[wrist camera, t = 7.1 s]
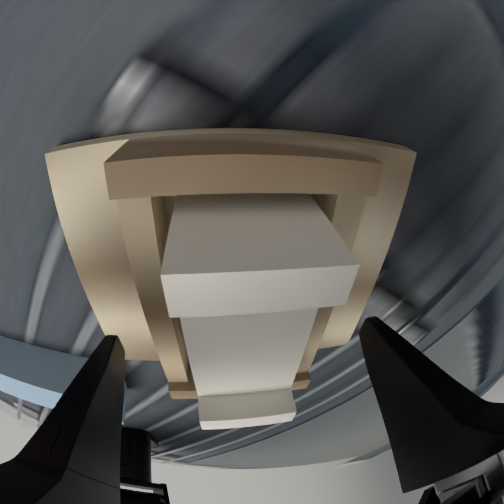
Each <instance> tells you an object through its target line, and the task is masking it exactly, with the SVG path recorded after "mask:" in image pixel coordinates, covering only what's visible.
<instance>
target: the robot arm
mask: <svg viewBox="0 0 504 504" xmlns="http://www.w3.org/2000/svg"><path fill="white" fill-rule="evenodd" d="M359 337H360V341H361V345H362V349H363V354H364V358H365V362H366V366H367V370H368V373H369V376H370V379H371V382H372V385H373V388H374V391H375V395H376V398H377V401H378V404H379V407H380V410H381V414H382V417H383V420H384V423H385V427H386V430H387V434H388V437H389V441H390V444H391V448H392V451H393V455H394V460H395V464H396V467H397V471H398V475H399V480H400V484H401V488H402V492H403V493H406V492H410V491H412V490H416V489H419V488H422V487H425V486H428V485H430V484H433V486H431V487H429V488H428V489H426V490H425V491H424V493H423V495H422V498H421V499H420V502H419V504H504V403H493V402H488V401H485V400H483V399H482V398H480V397H479V396H477V395H476V394H474V393H473V392H472V391H470V390H469V389H467V388H466V387H464V386H463V385H461V384H460V383H459V382H457V381H456V380H455V379H453V378H452V377H451V376H450V375H448V374H447V373H446V372H445V371H443V370H442V369H440V367H439V366H437V365H436V364H435V363H434V362H432V361H431V360H430V359H429V358H428V357H426V356H425V355H424V354H423V353H422V352H420V351H419V350H418V349H417V348H415V347H414V346H413V345H412V344H410V343H409V342H408V341H407V340H405V339H404V338H403V337H402V336H401V335H399V334H398V333H397V332H396V331H394V330H393V329H392V328H391V327H389V326H388V325H387V324H386V323H384V322H383V321H382V320H380V319H379V318H378V317H376V316H373V317H368V318H366V319H365V321H364V323H363V325H362V327H361V329H360V332H359ZM124 393H125V350H124V347H123V345H122V343H121V341H120V339H119V337H118V336H117V335H106V336H105V337H104V339H103V340H102V341H101V342H100V344H99V345H98V346H97V348H96V349H95V350H94V352H93V353H92V354H91V356H90V357H89V358H88V360H87V361H86V362H85V364H84V365H83V367H82V368H81V369H80V371H79V372H78V373H77V375H76V376H75V378H74V379H73V380H72V382H71V383H70V385H69V386H68V387H67V389H66V390H65V392H64V393H63V395H62V396H61V398H60V399H59V400H58V402H57V403H56V405H55V407H54V408H53V409H52V411H51V412H50V414H49V415H48V417H47V418H46V419H45V421H44V422H43V424H42V425H41V426H40V428H39V429H38V430H37V431H36V433H35V434H34V435H33V437H32V438H31V439H30V440H29V441H28V443H27V444H26V445H25V447H24V448H23V449H22V450H21V451H20V453H19V454H18V455H17V456H16V457H15V458H13V459H11V460H10V461H7V462H5V463H2V464H0V504H170V502H169V497H168V491H167V486H166V484H155V483H151V448H158V447H159V444H158V443H157V442H156V441H155V440H154V439H153V438H152V437H151V436H150V435H149V434H148V433H147V432H145V431H136V430H125V429H122V415H123V404H124ZM120 485H122V486H128V487H134V488H141V489H148V490H153V493H146V492H140V491H133V490H127V489H121V488H120Z"/></svg>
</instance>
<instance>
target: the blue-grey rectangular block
mask: <svg viewBox="0 0 504 504" xmlns="http://www.w3.org/2000/svg"><path fill="white" fill-rule="evenodd" d="M87 360H88V358H87V357H82V356H77V355H72V354H67V353H63V352H58V351H54V350H50V349H46V348H42V347H38V346H34V345H31V344H27V343H24V342H20V341H17V340H14V339H10V338H7V337H4V336H1V335H0V391H3V392H5V393H7V394H10V395H13V396H15V397H18V398H21V399H23V400H26V401H29V402H32V403H35V404H38V405H41V406H44V407H48V408H51V409H53V408H54V407H55V405H56V403H57V402H58V400H59V399H60V398H61V396H62V395H63V393H64V392H65V390H66V389H67V387H68V386H69V385H70V383H71V382H72V380H73V379H74V378H75V376H76V375H77V373H78V372H79V371H80V369H81V368H82V367H83V365H84V364H85V362H86V361H87ZM126 395H127V386H126V383H125V393H124V404H123V415H122V424H124V417H125V405H126Z"/></svg>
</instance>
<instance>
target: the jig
mask: <svg viewBox="0 0 504 504" xmlns="http://www.w3.org/2000/svg"><path fill="white" fill-rule="evenodd" d="M416 154H417V153H416V152H415V151H413V150H411V149H409V148H407V147H405V146H403V145H399V144H394V143H388V142H383V141H377V140H371V139H365V138H359V137H352V136H344V135H337V134H328V133H319V132H308V131H296V130H281V129H260V128H200V129H178V130H163V131H151V132H141V133H132V134H124V135H116V136H109V137H102V138H96V139H90V140H84V141H79V142H74V143H69V144H64V145H59V146H56V147H55V148H53V149H51V150H50V151H48V152H47V153H45V157H46V163H47V168H48V173H49V178H50V183H51V187H52V192H53V196H54V200H55V204H56V208H57V211H58V215H59V218H60V222H61V225H62V229H63V232H64V235H65V238H66V241H67V245H68V248H69V250H70V253H71V256H72V259H73V262H74V265H75V267H76V270H77V273H78V275H79V278H80V280H81V283H82V285H83V288H84V290H85V293H86V295H87V297H88V300H89V302H90V304H91V306H92V309H93V311H94V313H95V315H96V317H97V319H98V322H99V324H100V326H101V328H102V330H103V332H104V334H105V336H106V335H117V336H118V337H119V339H120V341H121V343H122V345H123V347H124V350H125V360H146V361H161V364H162V367H163V369H164V372H165V374H166V377H167V379H168V382H169V393H170V395H171V398H172V399H198V395H197V391H196V387H195V383H194V379H193V375H192V371H191V367H190V363H189V358H188V354H187V350H186V345H185V340H184V336H183V331H182V326H181V321H180V317H175V318H169V313H168V309H167V305H166V300H165V295H164V291H163V286H162V281H161V276H160V274H161V268H162V262H163V257H164V252H165V246H166V241H167V236H168V232H169V227H170V222H171V217H172V213H173V209H174V204H175V200H176V196H177V195H197V194H230V193H303V194H310V195H311V197H312V198H313V199H314V201H315V202H316V203H317V205H318V206H319V207H320V209H321V210H322V211H323V213H324V214H325V215H326V217H327V218H328V220H329V221H330V222H331V224H332V225H333V226H334V228H335V229H336V231H337V232H338V233H339V235H340V236H341V238H342V239H343V241H344V242H345V243H346V245H347V246H348V248H349V249H350V251H351V252H352V254H353V255H354V257H355V258H356V260H357V261H358V263H359V264H360V266H359V269H358V272H357V275H356V278H355V280H354V283H353V286H352V289H351V291H350V294H349V297H348V299H347V302H346V305H340V306H332V307H323V308H318V311H317V314H316V317H315V321H314V324H313V327H312V330H311V333H310V336H309V339H308V342H307V345H306V348H305V351H304V354H303V356H302V359H301V362H300V365H299V368H298V370H297V373H296V376H295V379H294V381H293V384H292V386H291V390H296V389H303V388H307V386H308V384H309V382H310V380H311V379H310V375H309V372H308V371H309V369H310V366H311V364H312V362H313V359H314V357H315V354H316V352H317V349H321V348H328V347H334V346H340V345H345V344H348V342H349V340H350V338H351V336H352V334H353V332H354V330H355V328H356V325H357V323H358V321H359V319H360V317H361V315H362V313H363V310H364V308H365V306H366V304H367V301H368V299H369V297H370V294H371V292H372V290H373V287H374V285H375V282H376V280H377V278H378V275H379V273H380V270H381V267H382V265H383V262H384V260H385V257H386V254H387V251H388V249H389V246H390V243H391V240H392V237H393V235H394V232H395V229H396V226H397V223H398V219H399V216H400V213H401V210H402V207H403V203H404V200H405V197H406V193H407V190H408V186H409V182H410V178H411V175H412V171H413V167H414V163H415V158H416Z"/></svg>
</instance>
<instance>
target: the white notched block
mask: <svg viewBox="0 0 504 504" xmlns="http://www.w3.org/2000/svg"><path fill="white" fill-rule="evenodd" d="M359 266H360V264H359V263H358V261H357V260H356V258H355V257H354V255H353V254H352V252H351V251H350V249H349V248H348V246H347V245H346V243H345V242H344V241H343V239H342V238H341V236H340V235H339V233H338V232H337V231H336V229H335V228H334V226H333V225H332V224H331V222H330V221H329V220H328V218H327V217H326V215H325V214H324V213H323V211H322V210H321V209H320V207H319V206H318V205H317V203H316V202H315V201H314V199H313V198H312V197H311V195H310V194H303V193H230V194H197V195H177V196H176V200H175V204H174V209H173V213H172V217H171V222H170V227H169V232H168V236H167V241H166V246H165V252H164V257H163V262H162V268H161V274H160V276H161V281H162V286H163V291H164V295H165V300H166V305H167V309H168V313H169V318H175V317H180V321H181V326H182V331H183V336H184V340H185V345H186V350H187V354H188V358H189V363H190V367H191V371H192V375H193V379H194V383H195V387H196V391H197V395H198V407H199V422H200V425H201V428H202V430H210V429H228V428H241V427H251V426H260V425H268V424H276V423H282V422H289V421H292V420H293V418H294V416H295V414H296V412H297V411H296V407H295V403H294V399H293V395H292V391H291V386H292V384H293V381H294V379H295V376H296V373H297V370H298V368H299V365H300V362H301V359H302V356H303V354H304V351H305V348H306V345H307V342H308V339H309V336H310V333H311V330H312V327H313V324H314V321H315V317H316V314H317V311H318V308H323V307H332V306H340V305H346V302H347V299H348V297H349V294H350V291H351V289H352V286H353V283H354V280H355V278H356V275H357V272H358V269H359Z"/></svg>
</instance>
